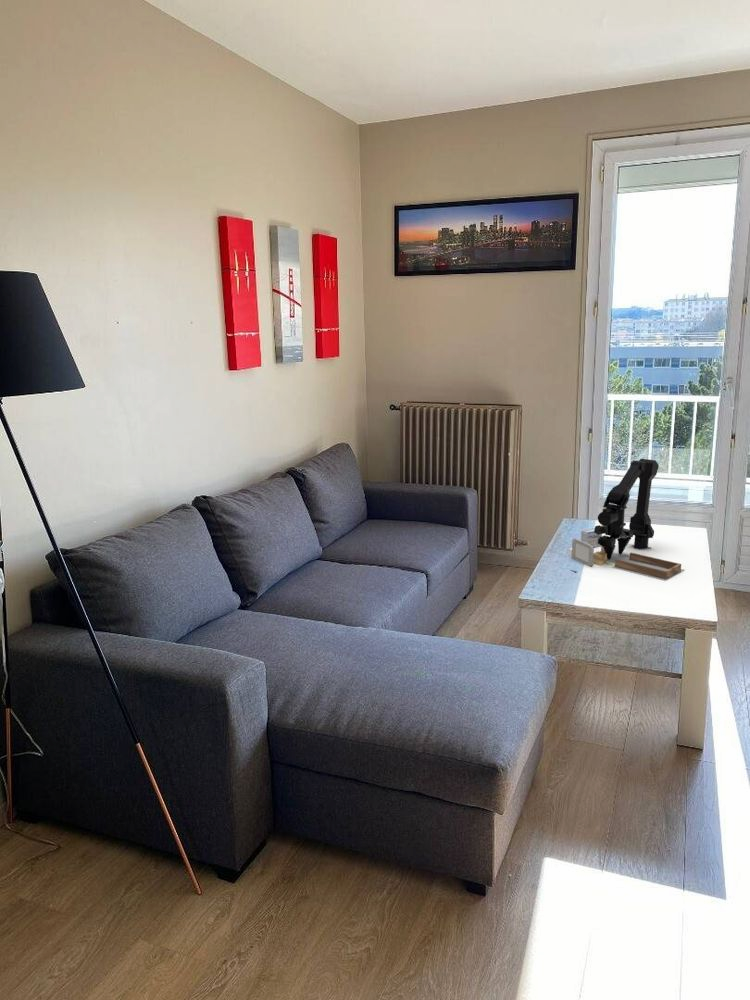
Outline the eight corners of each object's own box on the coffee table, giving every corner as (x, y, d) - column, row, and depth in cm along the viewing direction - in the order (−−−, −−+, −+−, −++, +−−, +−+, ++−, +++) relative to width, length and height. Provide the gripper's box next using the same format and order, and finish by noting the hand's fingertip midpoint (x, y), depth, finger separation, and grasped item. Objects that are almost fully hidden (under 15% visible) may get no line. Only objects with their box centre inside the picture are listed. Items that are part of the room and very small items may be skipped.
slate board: (601, 553, 323) (602, 550, 323) (685, 572, 297) (685, 569, 297) (580, 562, 312) (580, 559, 311) (665, 584, 286) (665, 581, 286)
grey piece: (555, 563, 312) (556, 540, 309) (573, 560, 315) (574, 537, 313) (575, 573, 300) (576, 549, 298) (593, 569, 303) (595, 546, 301)
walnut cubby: (630, 559, 311) (630, 552, 310) (680, 571, 296) (681, 564, 295) (614, 566, 302) (615, 559, 302) (665, 579, 287) (666, 572, 286)
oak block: (597, 560, 310) (598, 551, 309) (606, 563, 307) (606, 553, 306) (592, 562, 307) (592, 553, 306) (600, 565, 304) (601, 555, 303)
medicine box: (586, 551, 325) (587, 532, 323) (580, 548, 329) (581, 529, 327) (601, 549, 328) (602, 530, 326) (595, 546, 332) (596, 527, 330)
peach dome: (603, 552, 320) (604, 543, 319) (611, 554, 318) (611, 544, 317) (599, 554, 318) (599, 545, 317) (606, 556, 315) (607, 546, 314)
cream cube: (571, 555, 321) (572, 546, 320) (580, 556, 319) (581, 547, 318) (568, 558, 318) (569, 549, 317) (578, 559, 316) (578, 550, 315)
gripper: (610, 512, 319) (608, 547, 323) (586, 521, 307) (585, 557, 311) (634, 517, 311) (632, 553, 315) (611, 526, 299) (609, 564, 303)
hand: (614, 556), depth 311 cm, fingers open, 9 cm apart
